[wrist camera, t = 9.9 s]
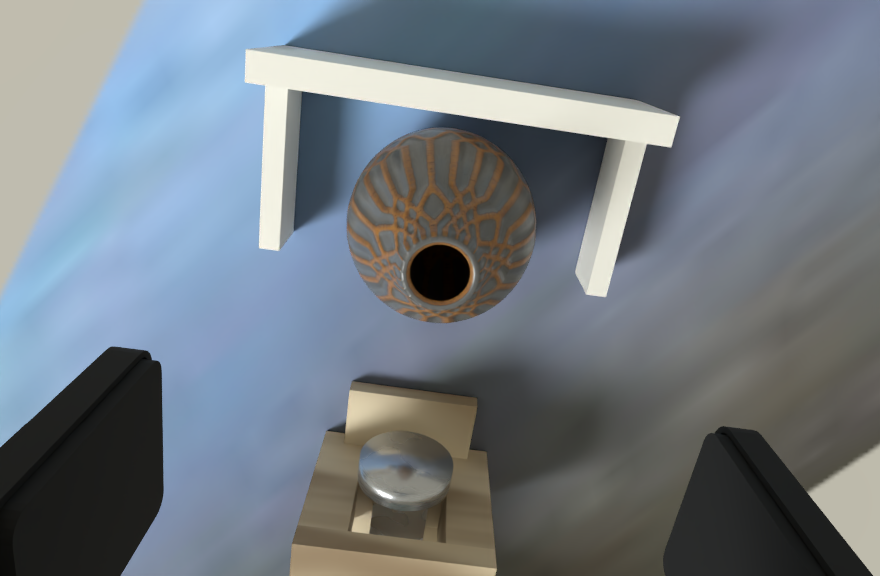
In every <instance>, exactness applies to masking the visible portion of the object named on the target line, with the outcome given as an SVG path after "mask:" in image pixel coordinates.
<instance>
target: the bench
mask: <svg viewBox="0 0 880 576" xmlns="http://www.w3.org/2000/svg"><path fill="white" fill-rule="evenodd" d="M476 412H477V398H474V397H467V396H459V395H452V394H444V393H437V392H429V391H422V390H414V389H407V388H399V387H392V386H384V385H377V384H369V383H362V382H354V381H352V384H351V387H350V393H349V402H348V411H347V421H346V430H345V433H339V432H331V431H326V434H325V437H324V440H323V443H322V447H321V450H320V453H319V457H318V460H317V463H316V466H315V470H314V473H313V476H312V480H311V483H310V486H309V490H308V493H307V496H306V499H305V503H304V506H303V509H302V513H301V516H300V519H299V522H298V526H297V529H296V532H295V536H294V539H293V542H292V550H291V564H290V576H495V574H496V570H497V565H496V554H495V542H494V531H493V519H492V508H491V497H490V485H489V474H488V463H487V452H485V451H477V450H470V449H469V447H470V442H471V437H472V432H473V427H474V422H475V417H476ZM392 431H408V432H415V433H419V434H422V435H425V436H428V437H430V438H432V439H434V440H436V441H437V442H439V443H440V444H442V445H443V446H444V447H445V448H446V449H447V450H448V452H449V453H450V455H451V457H452V460H453V472H452V478H451V483H450V488H449V491H448V494H447V495H446V497H445V498H444V499H443V500H442V501H441V502H440V503H438V504H437V505H435V506H433V507H431V508H428V513H427V518H426V524H425V530H424V535H423V540H415V539H407V538H399V537H391V536H383V535H375V534H369V531H370V524H371V517H372V509H373V502H374V501H373V500H371V499H370V498H369V497H368V496H367V495H366V494H365V493H364V492H363V491H362V489H361V487H360V485H359V483H358V467H359V459H360V452H361V449H362V448H363V446H364V445H365V443H366V442H367V441H369V440H370V439H371V438H373V437H375V436H377V435H379V434H382V433H386V432H392Z"/></svg>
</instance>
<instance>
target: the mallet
mask: <svg viewBox="0 0 880 576" xmlns="http://www.w3.org/2000/svg"><path fill="white" fill-rule="evenodd" d="M452 472H453V460H452V457H451V455H450V453H449V452H448V450H447V449H446V448H445V447H444V446H443V445H442V444H440V443H439V442H437V441H436V440H434V439H432V438H430V437H428V436H425V435H422V434H419V433H415V432H408V431H392V432H386V433H382V434H379V435H377V436H375V437H373V438H371V439H370V440H369V441H367V442H366V443H365V445H364V446H363V448H362V449H361V452H360V459H359V467H358V483H359V485H360V487H361V489H362V491H363V492H364V493H365V494H366V495H367V496H368V497H369V498H370V499H371V500H373V501H374V502H373V509H372V517H371V524H370V531H369V534H375V535H383V536H391V537H399V538H407V539H415V540H423V535H424V530H425V524H426V518H427V513H428V508H431V507H433V506H435V505H437V504H438V503H440V502H441V501H442V500H443V499H444V498H445V497H446V495H447V494H448V491H449V488H450V483H451V478H452Z"/></svg>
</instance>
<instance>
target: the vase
mask: <svg viewBox="0 0 880 576" xmlns="http://www.w3.org/2000/svg"><path fill="white" fill-rule="evenodd" d="M535 237H536V213H535V206H534V202H533V198H532V195H531V192H530V189H529V187H528V184H527V182H526V180H525V178H524V177H523V175H522V173H521V172H520V170H519V169H518V167H517V166H516V165H515V163H514V162H513V161H512V160H511V159H510V157H509V156H508V155H507V154H506V153H505V152H503V151H502V150H501V149H500V148H499V147H497V146H496V145H495V144H493V143H492V142H490V141H488V140H487V139H485V138H483V137H481V136H479V135H477V134H474V133H472V132H468V131H465V130H461V129H455V128H445V127H440V128H428V129H422V130H418V131H415V132H412V133H409V134H407V135H404V136H402V137H400V138H398V139H397V140H395V141H393V142H392V143H390V144H389V145H387V146H386V147H385V148H383V149H382V150H381V151H380V152H379V153H378V154H377V155H375V157H374V158H373V159H372V160H371V161H370V162H369V164H368V165H367V166H366V167H365V169H364V170H363V172H362V173H361V175H360V177H359V179H358V180H357V182H356V185H355V187H354V189H353V192H352V195H351V198H350V202H349V206H348V212H347V238H348V244H349V248H350V252H351V256H352V259H353V261H354V264H355V266H356V268H357V270H358V272H359V274H360V276H361V277H362V279H363V281H364V282H365V284H366V285H367V286H368V288H369V289H370V290H371V291H372V292H373V293H374V294H375V295H376V296H377V297H378V298H379V299H380V300H381V301H382V302H383V303H385V304H386V305H387V306H389V307H390V308H392V309H393V310H395V311H397V312H399V313H401V314H403V315H405V316H407V317H410V318H413V319H416V320H420V321H425V322H432V323H451V322H458V321H462V320H466V319H469V318H472V317H475V316H478V315H480V314H482V313H484V312H486V311H488V310H489V309H491V308H492V307H494V306H495V305H497V304H498V303H499V302H501V301H502V300H503V299H504V298H505V297H506V296H507V295H508V294H509V293H510V292H511V291H512V290H513V288H514V287H515V286H516V285H517V283H518V282H519V280H520V279H521V277H522V275H523V273H524V272H525V270H526V268H527V266H528V263H529V261H530V258H531V255H532V252H533V248H534V243H535Z"/></svg>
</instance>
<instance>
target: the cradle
mask: <svg viewBox="0 0 880 576" xmlns="http://www.w3.org/2000/svg"><path fill="white" fill-rule="evenodd" d="M245 82H246V83H252V84H259V85H265V108H264V133H263V158H262V183H261V208H260V233H259V248H262V249H269V250H276V251H279V250H280V249H281V248H282V247H283V245H284V244H285V243H286V241H287V240H288V239H289V237H290V236H291V235H292V233H293V232H294V216H295V199H296V183H297V167H298V150H299V134H300V118H301V102H302V91H305V92H311V93H318V94H324V95H331V96H337V97H344V98H350V99H357V100H363V101H370V102H377V103H383V104H390V105H396V106H403V107H409V108H416V109H422V110H429V111H435V112H442V113H449V114H455V115H462V116H468V117H475V118H481V119H488V120H494V121H501V122H507V123H514V124H521V125H527V126H534V127H540V128H547V129H553V130H560V131H566V132H573V133H580V134H586V135H593V136H599V137H606V138H608V139H607V143H606V148H605V152H604V156H603V160H602V164H601V168H600V172H599V176H598V180H597V184H596V189H595V193H594V197H593V201H592V205H591V209H590V213H589V217H588V221H587V225H586V230H585V234H584V238H583V242H582V246H581V250H580V254H579V258H578V262H577V266H576V271H575V273H576V275H577V277H578V279H579V281H580V283H581V285H582V287H583V289H584V291H585V293H586V294H587V295H594V296H601V297H606V295H607V291H608V287H609V283H610V280H611V276H612V272H613V268H614V265H615V261H616V257H617V254H618V250H619V246H620V242H621V239H622V235H623V231H624V227H625V224H626V220H627V216H628V212H629V209H630V205H631V201H632V198H633V194H634V190H635V186H636V183H637V179H638V175H639V171H640V168H641V164H642V160H643V156H644V153H645V149H646V145H647V144H652V145H658V146H665V147H671V146H672V143H673V139H674V136H675V132H676V129H677V125H678V122H679V118H680V116H677V115H674V114H672V113H669V112H667V111H664V110H662V109H659V108H656V107H654V106H651V105H649V104H646V103H643V102H641V101H638V100H633V99H627V98H620V97H614V96H607V95H601V94H594V93H588V92H582V91H575V90H569V89H562V88H556V87H550V86H543V85H537V84H530V83H524V82H517V81H511V80H505V79H498V78H492V77H485V76H479V75H472V74H466V73H460V72H453V71H447V70H440V69H434V68H427V67H421V66H415V65H408V64H402V63H395V62H389V61H382V60H376V59H370V58H363V57H357V56H350V55H344V54H337V53H331V52H325V51H318V50H312V49H305V48H299V47H293V46H286V45H281V46H272V47H263V48H254V49H246V61H245Z"/></svg>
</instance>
